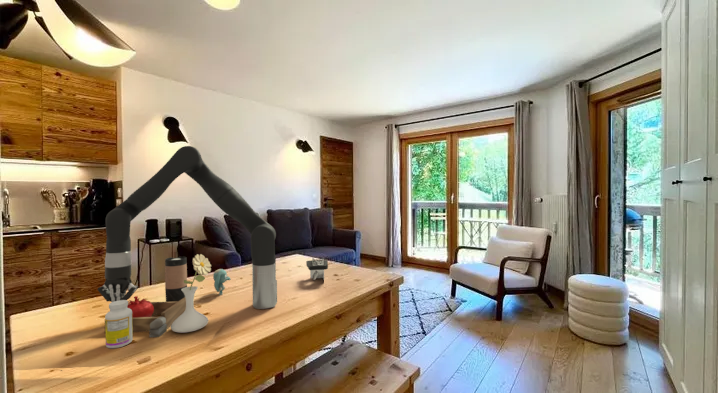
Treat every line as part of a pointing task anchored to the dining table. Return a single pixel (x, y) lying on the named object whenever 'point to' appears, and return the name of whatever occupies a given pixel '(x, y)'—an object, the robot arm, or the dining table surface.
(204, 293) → the dining table surface
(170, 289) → the travel mug
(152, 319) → the brown wooden open box
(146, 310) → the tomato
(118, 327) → the supplement bottle
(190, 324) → the flower in vase
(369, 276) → the dining table surface
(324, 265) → the black-topped pedestal
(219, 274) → the teal character figurine
